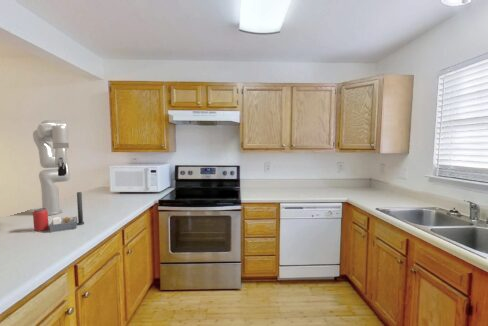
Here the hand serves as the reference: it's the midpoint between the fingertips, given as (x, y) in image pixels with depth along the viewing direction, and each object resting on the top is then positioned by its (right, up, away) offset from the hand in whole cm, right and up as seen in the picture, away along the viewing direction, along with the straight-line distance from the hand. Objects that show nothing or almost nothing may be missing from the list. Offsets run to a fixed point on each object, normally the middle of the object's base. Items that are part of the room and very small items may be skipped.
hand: (62, 175), depth 146 cm
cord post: (+7, -31, +6) cm, 32 cm away
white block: (0, -28, -5) cm, 28 cm away
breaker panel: (+1, -31, 0) cm, 31 cm away
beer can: (-9, -32, -4) cm, 33 cm away
